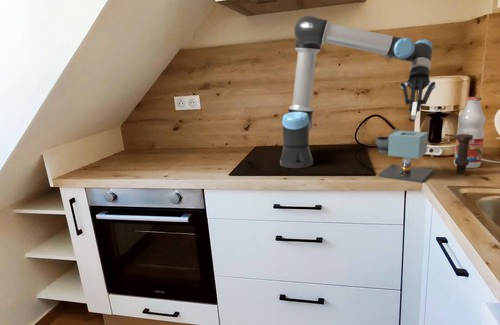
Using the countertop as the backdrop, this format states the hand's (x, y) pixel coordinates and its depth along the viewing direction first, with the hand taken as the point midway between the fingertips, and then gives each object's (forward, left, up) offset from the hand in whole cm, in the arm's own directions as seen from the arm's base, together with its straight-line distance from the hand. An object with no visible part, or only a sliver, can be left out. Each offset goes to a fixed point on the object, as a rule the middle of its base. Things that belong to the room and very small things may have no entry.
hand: (413, 117), depth 134 cm
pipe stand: (0, -4, -22) cm, 22 cm away
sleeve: (0, -4, -14) cm, 14 cm away
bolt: (+17, +7, -22) cm, 29 cm away
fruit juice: (+17, +20, -22) cm, 34 cm away
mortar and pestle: (-19, +29, -22) cm, 41 cm away
